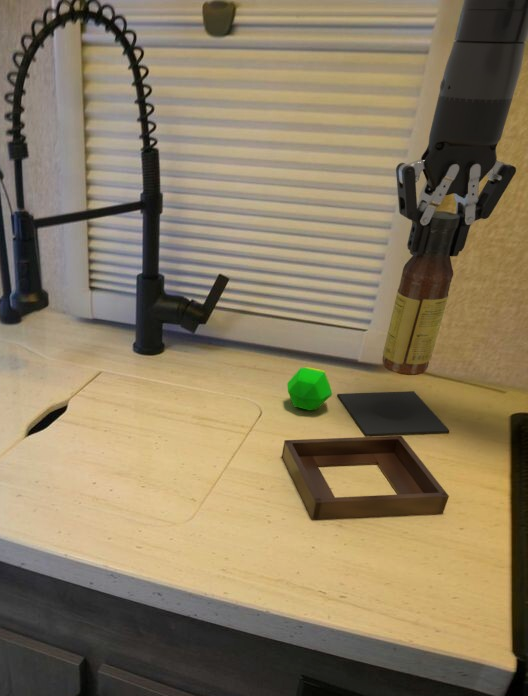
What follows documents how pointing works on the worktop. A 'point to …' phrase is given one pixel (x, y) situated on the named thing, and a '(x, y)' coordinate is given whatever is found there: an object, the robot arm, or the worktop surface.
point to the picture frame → (386, 451)
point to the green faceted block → (309, 388)
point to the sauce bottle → (421, 300)
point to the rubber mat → (391, 413)
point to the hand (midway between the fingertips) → (433, 254)
